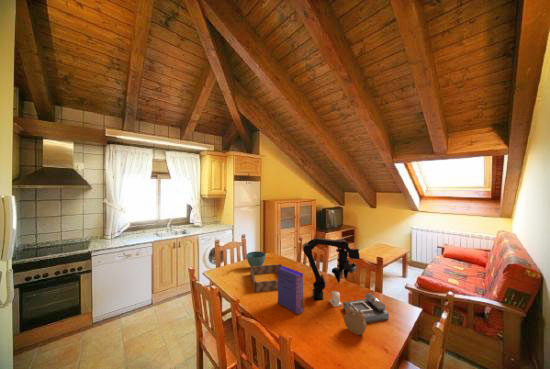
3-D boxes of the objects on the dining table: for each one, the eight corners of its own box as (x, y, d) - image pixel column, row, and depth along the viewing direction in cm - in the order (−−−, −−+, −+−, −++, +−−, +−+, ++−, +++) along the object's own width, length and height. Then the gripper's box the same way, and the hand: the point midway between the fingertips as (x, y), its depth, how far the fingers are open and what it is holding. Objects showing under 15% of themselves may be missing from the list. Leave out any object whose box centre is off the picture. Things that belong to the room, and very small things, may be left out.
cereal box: (303, 311, 129) (303, 273, 129) (298, 314, 126) (298, 275, 126) (282, 300, 141) (282, 265, 141) (277, 303, 138) (278, 267, 138)
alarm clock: (367, 335, 108) (367, 307, 108) (363, 341, 105) (363, 312, 105) (346, 325, 116) (346, 299, 116) (342, 330, 112) (342, 303, 112)
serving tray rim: (254, 292, 151) (254, 282, 151) (250, 274, 181) (250, 266, 181) (291, 288, 158) (291, 278, 158) (281, 271, 187) (281, 263, 187)
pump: (333, 306, 134) (333, 295, 134) (328, 300, 142) (328, 289, 142) (342, 305, 135) (342, 294, 135) (335, 298, 143) (335, 288, 143)
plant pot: (242, 266, 197) (242, 254, 197) (257, 262, 210) (257, 250, 210) (254, 272, 184) (254, 259, 184) (269, 267, 196) (269, 254, 196)
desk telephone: (358, 325, 117) (358, 309, 117) (343, 308, 132) (343, 294, 132) (388, 319, 121) (388, 304, 121) (370, 304, 137) (370, 290, 137)
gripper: (347, 265, 130) (346, 289, 130) (360, 258, 143) (359, 280, 143) (331, 260, 138) (331, 283, 139) (345, 254, 151) (344, 275, 151)
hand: (342, 280), depth 143 cm, fingers open, 9 cm apart
